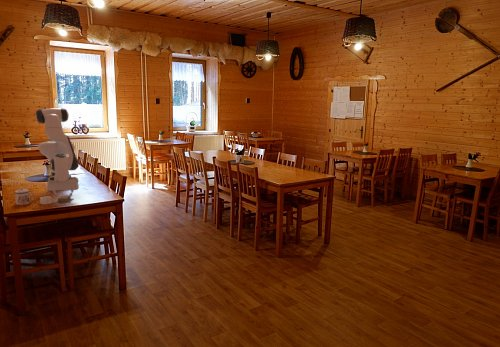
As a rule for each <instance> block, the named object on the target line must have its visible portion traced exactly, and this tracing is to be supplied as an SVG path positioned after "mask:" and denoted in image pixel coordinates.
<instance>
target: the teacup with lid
mask: <svg viewBox="0 0 500 347" xmlns="http://www.w3.org/2000/svg"><path fill="white" fill-rule="evenodd" d="M13 192H14V197H15V204H16V206H26V205H28V204H29V205H30V204H31V200H33V199H34V198H35V193H34V192H31V191H30V190H29V189H27V188H24V187H23V186H20V187H19V189H17V190H15V191H13ZM30 194H32V197H30Z"/></svg>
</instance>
